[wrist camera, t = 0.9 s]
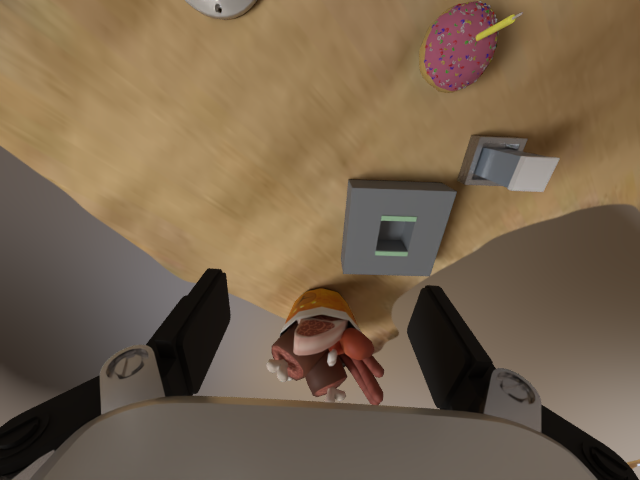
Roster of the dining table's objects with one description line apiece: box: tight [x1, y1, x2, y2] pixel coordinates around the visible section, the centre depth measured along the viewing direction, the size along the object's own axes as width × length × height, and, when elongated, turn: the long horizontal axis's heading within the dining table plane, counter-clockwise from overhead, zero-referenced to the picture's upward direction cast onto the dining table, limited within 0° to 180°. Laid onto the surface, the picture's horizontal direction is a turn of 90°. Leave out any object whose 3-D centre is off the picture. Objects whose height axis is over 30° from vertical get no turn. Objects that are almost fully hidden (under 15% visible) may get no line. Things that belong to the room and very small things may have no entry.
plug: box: [473, 147, 560, 192], centre depth 34 cm, size 4×4×10 cm
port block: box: [341, 179, 457, 276], centre depth 42 cm, size 16×16×5 cm
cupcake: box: [419, 1, 523, 93], centre depth 27 cm, size 9×8×12 cm
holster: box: [457, 135, 528, 186], centre depth 38 cm, size 7×7×2 cm
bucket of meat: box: [266, 288, 384, 405], centre depth 46 cm, size 20×16×20 cm
